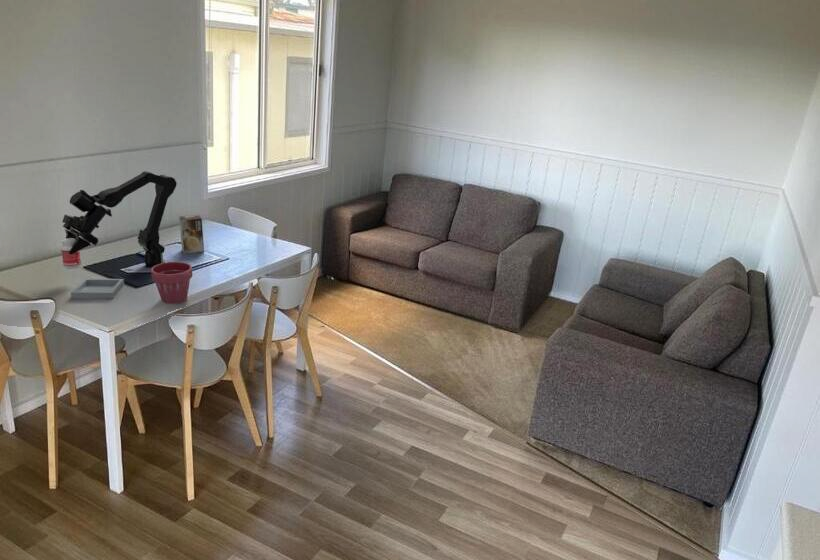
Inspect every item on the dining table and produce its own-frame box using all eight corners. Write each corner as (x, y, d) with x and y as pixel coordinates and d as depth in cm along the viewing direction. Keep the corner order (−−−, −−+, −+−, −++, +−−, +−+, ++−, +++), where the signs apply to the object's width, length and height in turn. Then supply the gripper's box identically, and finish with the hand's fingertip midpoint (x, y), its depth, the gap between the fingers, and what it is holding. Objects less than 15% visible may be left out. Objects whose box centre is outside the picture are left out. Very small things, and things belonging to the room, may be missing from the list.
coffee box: (201, 247, 291) (200, 214, 286) (204, 252, 286) (202, 218, 280) (181, 249, 287) (179, 216, 282) (183, 253, 282) (181, 219, 276)
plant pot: (145, 302, 229) (142, 270, 225) (170, 290, 242) (168, 259, 237) (177, 309, 225) (175, 276, 221) (201, 296, 238) (199, 265, 233)
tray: (124, 284, 244) (123, 279, 243) (112, 299, 230) (112, 292, 229) (85, 284, 242) (84, 278, 241) (71, 298, 228) (70, 292, 227)
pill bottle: (82, 268, 239) (78, 241, 235) (64, 270, 236) (60, 243, 232) (80, 263, 244) (76, 236, 240) (62, 265, 241) (58, 238, 237)
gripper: (64, 201, 240) (38, 234, 236) (85, 212, 229) (58, 246, 225) (88, 218, 249) (63, 249, 245) (109, 228, 237) (83, 261, 234)
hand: (66, 251), depth 237 cm, fingers closed on pill bottle, 6 cm apart
